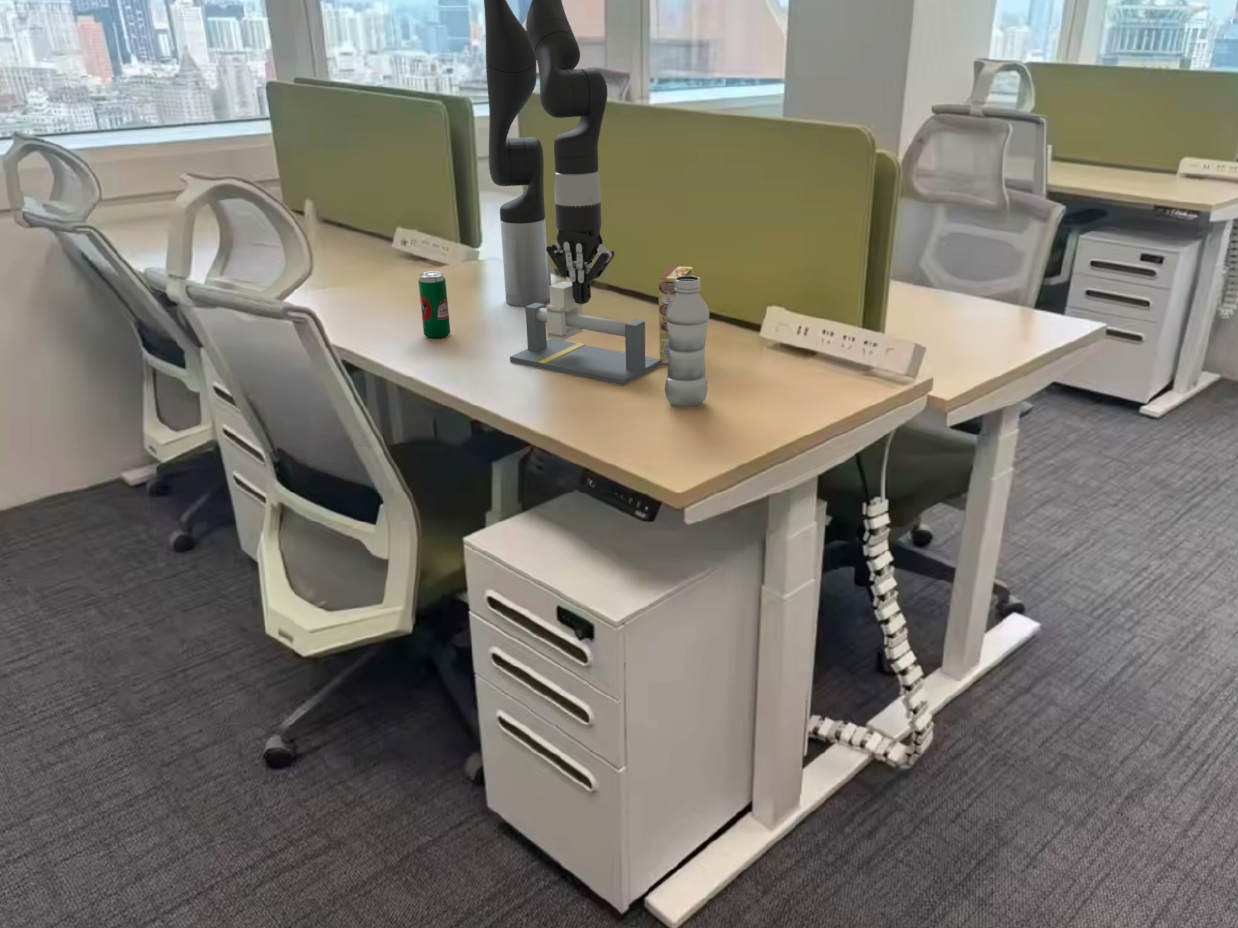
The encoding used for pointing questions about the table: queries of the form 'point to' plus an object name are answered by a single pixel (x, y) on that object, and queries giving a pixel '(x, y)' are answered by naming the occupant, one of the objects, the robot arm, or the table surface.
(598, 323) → the rail stand
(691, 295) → the plastic bottle
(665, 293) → the candy box
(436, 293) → the soda can
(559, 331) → the collar
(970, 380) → the table surface
